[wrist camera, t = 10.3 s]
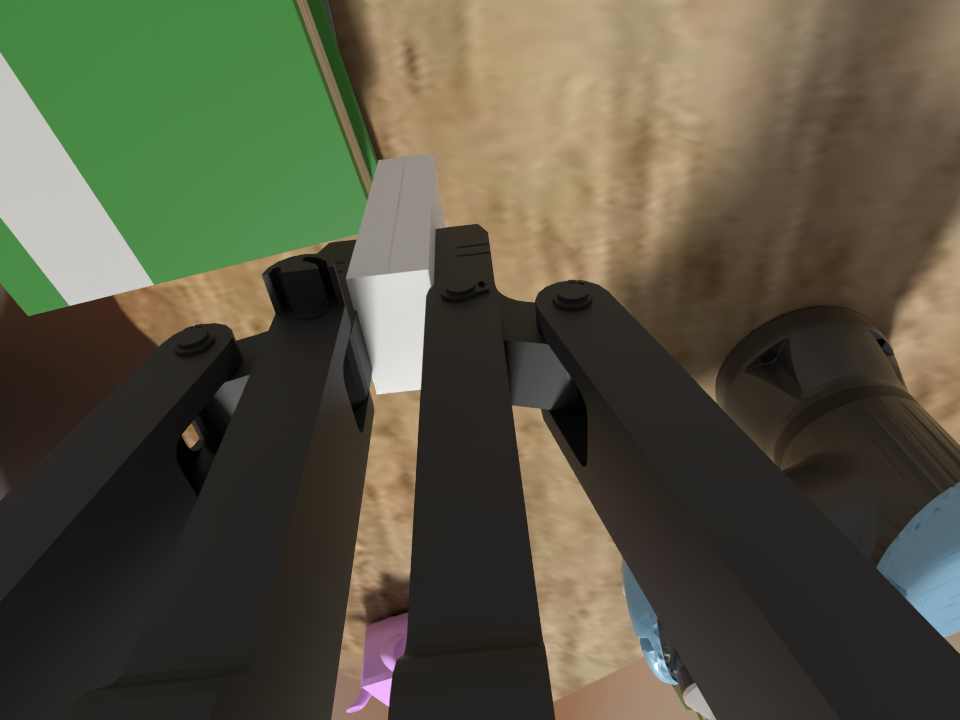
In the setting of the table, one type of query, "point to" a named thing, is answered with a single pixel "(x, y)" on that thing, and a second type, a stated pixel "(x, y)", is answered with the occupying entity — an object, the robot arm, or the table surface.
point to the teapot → (381, 658)
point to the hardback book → (169, 141)
